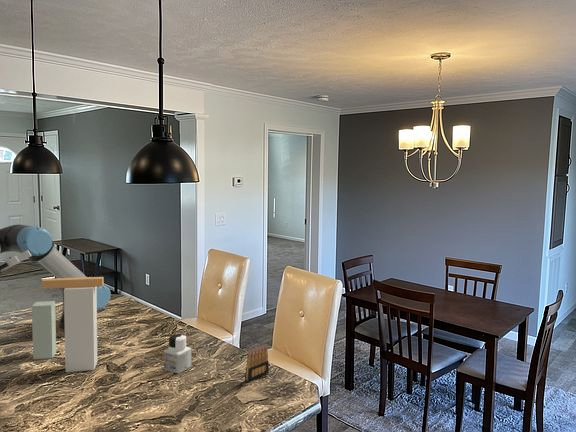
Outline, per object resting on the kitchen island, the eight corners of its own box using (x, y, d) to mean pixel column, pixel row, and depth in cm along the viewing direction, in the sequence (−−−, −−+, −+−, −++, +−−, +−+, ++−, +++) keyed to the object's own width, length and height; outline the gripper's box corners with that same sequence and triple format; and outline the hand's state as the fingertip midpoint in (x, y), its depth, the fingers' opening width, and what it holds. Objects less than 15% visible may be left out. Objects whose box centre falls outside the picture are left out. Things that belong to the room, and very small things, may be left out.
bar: (44, 286, 165) (43, 278, 164) (103, 284, 170) (103, 276, 170) (41, 288, 162) (41, 280, 161) (102, 286, 167) (102, 278, 167)
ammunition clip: (248, 382, 160) (248, 350, 159) (244, 380, 161) (245, 349, 160) (268, 373, 168) (269, 343, 167) (265, 371, 169) (266, 341, 168)
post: (70, 363, 172) (68, 284, 169) (97, 361, 174) (96, 283, 172) (65, 372, 164) (63, 289, 161) (94, 369, 167) (92, 288, 164)
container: (163, 369, 168) (163, 337, 167) (176, 362, 175) (176, 331, 174) (178, 374, 165) (178, 340, 164) (191, 366, 172) (191, 334, 171)
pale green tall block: (37, 353, 180) (36, 301, 178) (56, 352, 182) (55, 301, 180) (33, 359, 175) (31, 306, 173) (52, 358, 176) (51, 305, 175)
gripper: (-14, 285, 169) (39, 258, 174) (-44, 303, 145) (17, 271, 150) (-25, 269, 168) (28, 242, 172) (-58, 284, 144) (5, 252, 148)
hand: (23, 255), depth 161 cm, fingers open, 13 cm apart
